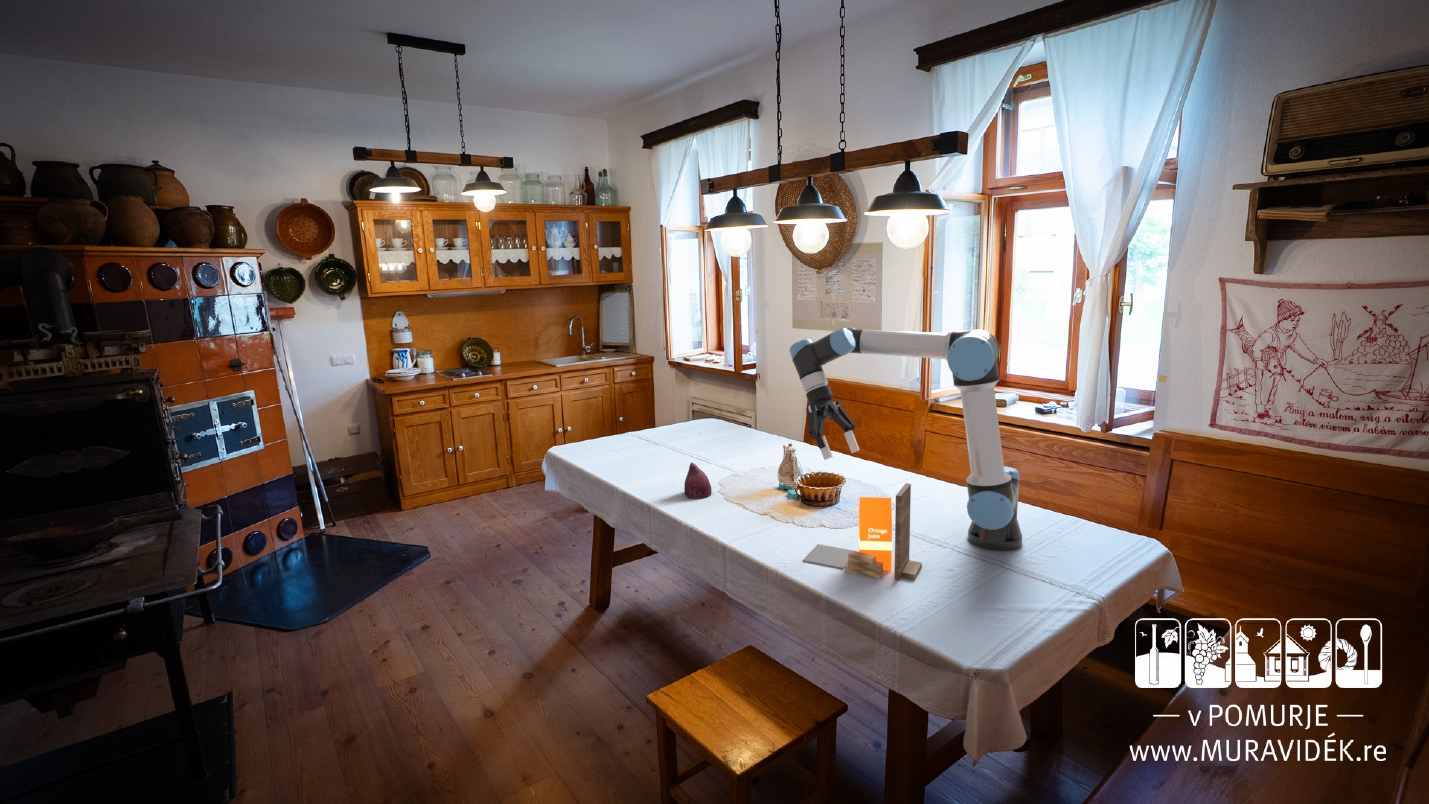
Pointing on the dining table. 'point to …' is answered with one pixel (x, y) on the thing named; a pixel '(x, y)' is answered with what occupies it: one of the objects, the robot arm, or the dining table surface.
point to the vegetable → (696, 483)
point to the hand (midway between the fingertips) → (842, 455)
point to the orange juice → (876, 529)
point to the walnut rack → (903, 566)
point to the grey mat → (828, 556)
